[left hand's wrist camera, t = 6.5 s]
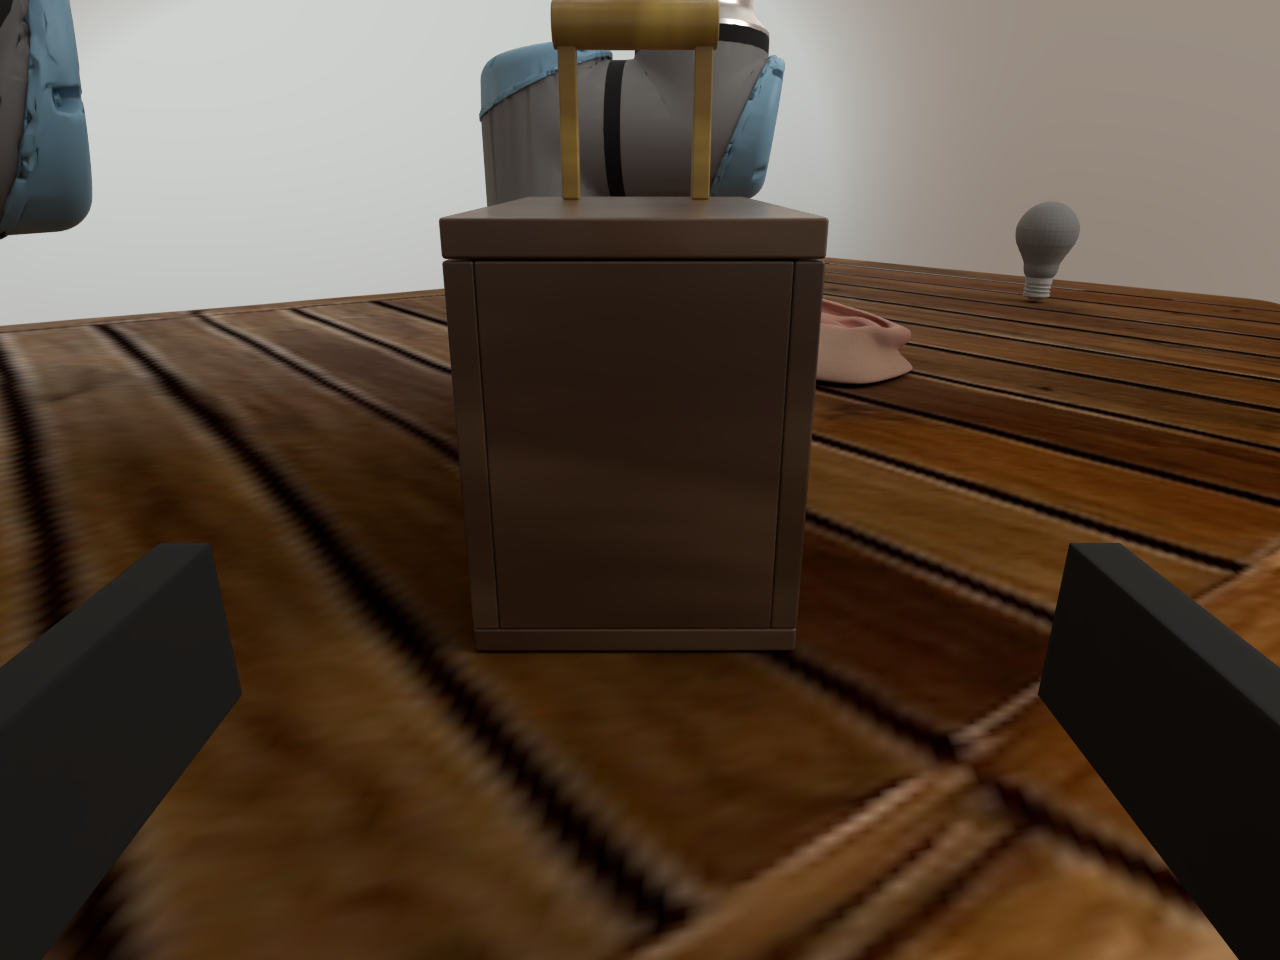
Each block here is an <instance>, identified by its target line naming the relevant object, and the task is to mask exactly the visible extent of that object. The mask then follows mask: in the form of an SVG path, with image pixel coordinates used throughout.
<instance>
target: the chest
mask: <svg viewBox="0 0 1280 960" xmlns="http://www.w3.org/2000/svg"><path fill="white" fill-rule="evenodd" d="M442 265H443V276H444V288H445V300H446V312H447V324H448V336H449V347H450V359H451V371H452V383H453V395H454V407H455V418H456V430H457V442H458V454H459V466H460V478H461V490H462V501H463V513H464V525H465V537H466V549H467V561H468V572H469V584H470V596H471V608H472V620H473V627H474V641H475V649H476V650H477V651H792V650H794V648H795V639H796V626H797V616H798V603H799V591H800V578H801V565H802V553H803V540H804V527H805V515H806V502H807V489H808V477H809V464H810V451H811V439H812V426H813V414H814V401H815V388H816V376H817V363H818V350H819V338H820V325H821V312H822V300H823V287H824V274H825V262H824V261H822V260H820V259H448V260H446V261H444V262H443V264H442Z"/></svg>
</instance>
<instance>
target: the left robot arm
mask: <svg viewBox="0 0 1280 960" xmlns="http://www.w3.org/2000/svg"><path fill="white" fill-rule="evenodd" d="M81 93H82V90H81V84H80V76H79V62H78V55H77V48H76V41H75V34H74V27H73V20H72V14H71V8H70V2H69V0H0V239H3V238H4V237H6V236H8V235H17V234H31V233H44V232H57V231H63V230H68V229H70V228H72V227H74V226H76V225H78V224H79V223H80V222H81V221H82V220H83V219H84V218H85V217H86V215H87V214H88V212H89V210H90V207H91V203H92V177H91V163H90V153H89V144H88V135H87V127H86V119H85V113H84V107H83V103H82V101H81ZM241 695H242V692H241V687H240V682H239V678H238V673H237V668H236V663H235V658H234V654H233V649H232V644H231V639H230V635H229V630H228V625H227V620H226V615H225V611H224V606H223V601H222V596H221V592H220V587H219V582H218V577H217V572H216V568H215V563H214V558H213V553H212V549H211V544H210V543H160V544H158V545H157V546H156V547H155V548H153V549H152V550H151V551H149V552H148V553H147V554H146V555H144V556H143V557H142V558H140V559H139V560H138V561H137V562H135V563H134V564H133V565H132V566H130V567H129V568H128V569H126V570H125V571H124V572H123V573H121V574H120V575H119V576H117V577H116V578H115V579H114V580H112V581H111V582H110V583H108V584H107V585H106V586H105V587H103V588H102V589H101V590H99V591H98V592H97V593H96V594H94V595H93V596H92V597H90V598H89V599H88V600H87V601H85V602H84V603H83V604H81V605H80V606H79V607H78V608H76V609H75V610H74V611H72V612H71V613H70V614H69V615H67V616H66V617H65V618H63V619H62V620H61V621H60V622H58V623H57V624H56V625H54V626H53V627H52V628H51V629H49V630H48V631H47V632H45V633H44V634H43V635H42V636H40V637H39V638H38V639H37V640H35V641H34V642H33V643H31V644H30V645H29V646H28V647H26V648H25V649H24V650H22V651H21V652H20V653H19V654H17V655H16V656H15V657H13V658H12V659H11V660H10V661H8V662H7V663H6V664H4V665H3V666H2V667H1V668H0V960H41V959H42V958H43V957H44V955H45V954H46V953H47V951H48V950H49V949H50V947H51V946H52V945H53V943H54V942H55V941H56V939H57V938H58V937H59V936H60V934H61V933H62V932H63V930H64V929H65V928H66V926H67V925H68V924H69V922H70V921H71V920H72V918H73V917H74V916H75V914H76V913H77V912H78V910H79V909H80V908H81V906H82V905H83V904H84V903H85V901H86V900H87V899H88V897H89V896H90V895H91V893H92V892H93V891H94V889H95V888H96V887H97V885H98V884H99V883H100V881H101V880H102V879H103V877H104V876H105V875H106V873H107V872H108V871H109V870H110V868H111V867H112V866H113V864H114V863H115V862H116V860H117V859H118V858H119V856H120V855H121V854H122V852H123V851H124V850H125V848H126V847H127V846H128V844H129V843H130V842H131V841H132V839H133V838H134V837H135V835H136V834H137V833H138V831H139V830H140V829H141V827H142V826H143V825H144V823H145V822H146V821H147V819H148V818H149V817H150V815H151V814H152V813H153V811H154V810H155V809H156V808H157V806H158V805H159V804H160V802H161V801H162V800H163V798H164V797H165V796H166V794H167V793H168V792H169V790H170V789H171V788H172V786H173V785H174V784H175V782H176V781H177V780H178V778H179V777H180V776H181V775H182V773H183V772H184V771H185V769H186V768H187V767H188V765H189V764H190V763H191V761H192V760H193V759H194V757H195V756H196V755H197V753H198V752H199V751H200V749H201V748H202V747H203V745H204V744H205V743H206V742H207V740H208V739H209V738H210V736H211V735H212V734H213V732H214V731H215V730H216V728H217V727H218V726H219V724H220V723H221V722H222V720H223V719H224V718H225V716H226V715H227V714H228V712H229V711H230V710H231V709H232V707H233V706H234V705H235V703H236V702H237V701H238V699H239V698H240V697H241ZM1038 695H1039V697H1040V698H1041V699H1042V701H1043V702H1044V703H1045V705H1046V706H1047V707H1048V709H1049V710H1050V711H1051V712H1052V714H1053V715H1054V716H1055V718H1056V719H1057V720H1058V722H1059V723H1060V724H1061V726H1062V727H1063V728H1064V730H1065V731H1066V732H1067V734H1068V735H1069V736H1070V738H1071V739H1072V740H1073V742H1074V743H1075V744H1076V745H1077V747H1078V748H1079V749H1080V751H1081V752H1082V753H1083V755H1084V756H1085V757H1086V759H1087V760H1088V761H1089V763H1090V764H1091V765H1092V767H1093V768H1094V769H1095V771H1096V772H1097V773H1098V775H1099V776H1100V777H1101V778H1102V780H1103V781H1104V782H1105V784H1106V785H1107V786H1108V788H1109V789H1110V790H1111V792H1112V793H1113V794H1114V796H1115V797H1116V798H1117V800H1118V801H1119V802H1120V804H1121V805H1122V806H1123V808H1124V809H1125V810H1126V811H1127V813H1128V814H1129V815H1130V817H1131V818H1132V819H1133V821H1134V822H1135V823H1136V825H1137V826H1138V827H1139V829H1140V830H1141V831H1142V833H1143V834H1144V835H1145V837H1146V838H1147V839H1148V841H1149V842H1150V843H1151V844H1152V846H1153V847H1154V848H1155V850H1156V851H1157V852H1158V854H1159V855H1160V856H1161V858H1162V859H1163V860H1164V862H1165V863H1166V864H1167V866H1168V867H1169V868H1170V870H1171V871H1172V872H1173V873H1174V875H1175V876H1176V877H1177V879H1178V880H1179V881H1180V883H1181V884H1182V885H1183V887H1184V888H1185V889H1186V891H1187V892H1188V893H1189V895H1190V896H1191V897H1192V899H1193V900H1194V901H1195V903H1196V904H1197V905H1198V906H1199V908H1200V909H1201V910H1202V912H1203V913H1204V914H1205V916H1206V917H1207V918H1208V920H1209V921H1210V922H1211V924H1212V925H1213V926H1214V928H1215V929H1216V930H1217V932H1218V933H1219V934H1220V936H1221V937H1222V938H1223V939H1224V941H1225V942H1226V943H1227V945H1228V946H1229V947H1230V949H1231V950H1232V951H1233V953H1234V954H1235V955H1236V957H1237V958H1238V959H1239V960H1280V668H1279V667H1278V666H1277V665H1276V664H1274V663H1273V662H1272V661H1270V660H1269V659H1268V658H1267V657H1265V656H1264V655H1263V654H1261V653H1260V652H1259V651H1258V650H1256V649H1255V648H1254V647H1252V646H1251V645H1250V644H1249V643H1247V642H1246V641H1245V640H1243V639H1242V638H1241V637H1240V636H1238V635H1237V634H1236V633H1235V632H1233V631H1232V630H1231V629H1229V628H1228V627H1227V626H1226V625H1224V624H1223V623H1222V622H1220V621H1219V620H1218V619H1217V618H1215V617H1214V616H1213V615H1211V614H1210V613H1209V612H1208V611H1206V610H1205V609H1204V608H1202V607H1201V606H1200V605H1199V604H1197V603H1196V602H1195V601H1193V600H1192V599H1191V598H1190V597H1188V596H1187V595H1186V594H1184V593H1183V592H1182V591H1181V590H1179V589H1178V588H1177V587H1175V586H1174V585H1173V584H1172V583H1170V582H1169V581H1168V580H1166V579H1165V578H1164V577H1163V576H1161V575H1160V574H1159V573H1157V572H1156V571H1155V570H1154V569H1152V568H1151V567H1150V566H1148V565H1147V564H1146V563H1145V562H1143V561H1142V560H1141V559H1140V558H1138V557H1137V556H1136V555H1134V554H1133V553H1132V552H1131V551H1129V550H1128V549H1127V548H1125V547H1124V546H1123V545H1122V544H1120V543H1070V544H1069V549H1068V553H1067V558H1066V563H1065V568H1064V572H1063V577H1062V582H1061V587H1060V592H1059V596H1058V601H1057V606H1056V611H1055V615H1054V620H1053V625H1052V630H1051V635H1050V639H1049V644H1048V649H1047V654H1046V658H1045V663H1044V668H1043V673H1042V678H1041V682H1040V687H1039V692H1038Z"/></svg>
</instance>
